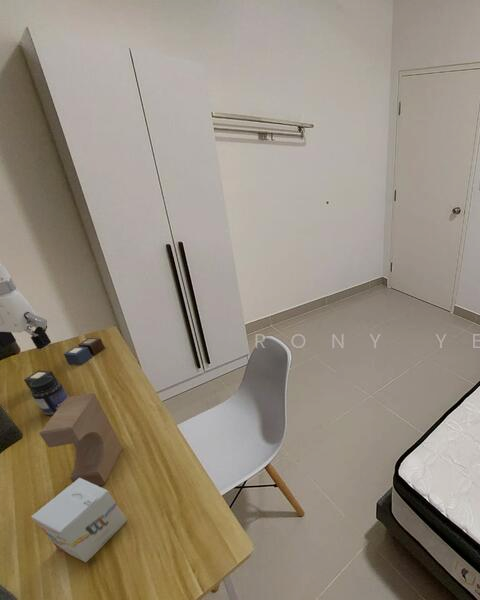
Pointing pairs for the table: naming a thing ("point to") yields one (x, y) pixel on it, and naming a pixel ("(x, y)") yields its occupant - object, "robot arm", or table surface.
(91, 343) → the block
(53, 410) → the pill bottle
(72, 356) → the block
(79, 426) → the decorative block
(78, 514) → the ink box
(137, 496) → the table surface
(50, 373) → the block
